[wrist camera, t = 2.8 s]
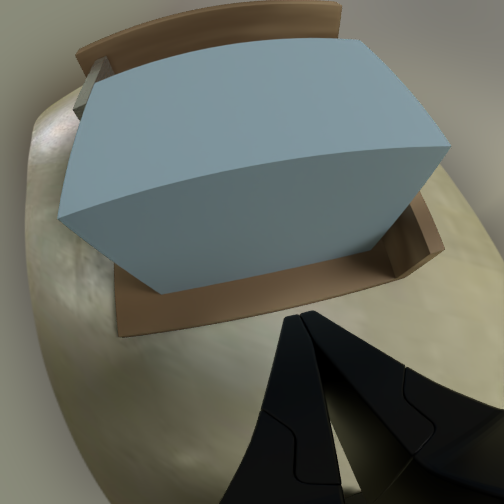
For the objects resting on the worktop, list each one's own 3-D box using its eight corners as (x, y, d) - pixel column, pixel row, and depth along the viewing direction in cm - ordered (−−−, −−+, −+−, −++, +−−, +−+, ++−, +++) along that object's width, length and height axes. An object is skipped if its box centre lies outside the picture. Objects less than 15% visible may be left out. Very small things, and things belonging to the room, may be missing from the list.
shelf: (404, 277, 15) (511, 194, 6) (123, 337, 14) (-7, 300, 6) (322, 99, 21) (335, 1, 12) (125, 137, 20) (79, 49, 11)
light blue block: (370, 250, 15) (451, 146, 7) (160, 294, 15) (56, 219, 6) (332, 156, 18) (359, 40, 9) (154, 190, 17) (93, 83, 9)
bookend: (141, 191, 17) (85, 103, 10) (115, 198, 17) (54, 118, 10) (143, 136, 19) (106, 55, 12) (121, 143, 19) (79, 67, 12)
